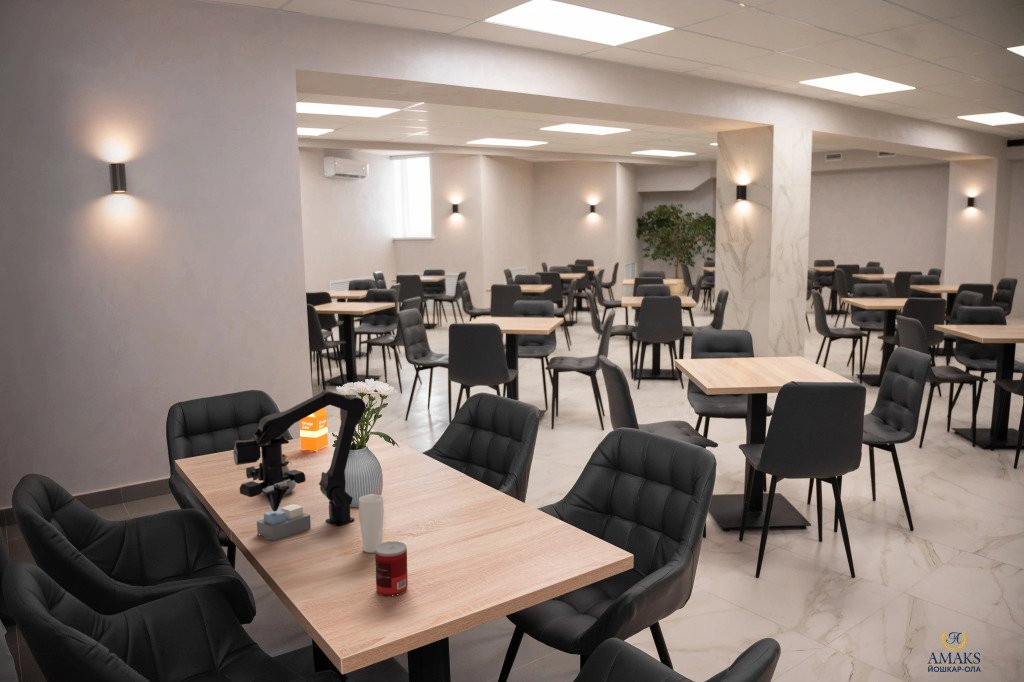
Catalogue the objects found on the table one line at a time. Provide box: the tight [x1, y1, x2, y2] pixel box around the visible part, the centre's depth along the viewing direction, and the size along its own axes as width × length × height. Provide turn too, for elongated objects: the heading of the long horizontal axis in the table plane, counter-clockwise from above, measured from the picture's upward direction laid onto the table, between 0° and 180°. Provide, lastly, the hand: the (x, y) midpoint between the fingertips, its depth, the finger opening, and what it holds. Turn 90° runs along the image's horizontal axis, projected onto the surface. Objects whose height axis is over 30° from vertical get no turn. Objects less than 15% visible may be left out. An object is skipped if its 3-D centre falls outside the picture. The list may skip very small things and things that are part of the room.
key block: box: [256, 512, 312, 541], centre depth 226 cm, size 8×13×4 cm, turn 140°
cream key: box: [281, 503, 304, 519], centre depth 228 cm, size 4×4×4 cm
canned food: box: [374, 540, 409, 597], centre depth 187 cm, size 8×8×11 cm
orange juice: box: [299, 407, 329, 450], centre depth 317 cm, size 8×9×20 cm
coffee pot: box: [270, 453, 297, 496], centre depth 256 cm, size 21×12×15 cm, turn 30°
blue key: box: [263, 509, 286, 525], centre depth 223 cm, size 4×4×4 cm
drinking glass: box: [358, 493, 385, 554], centre depth 211 cm, size 7×7×15 cm
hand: (274, 511), depth 223 cm, fingers closed
